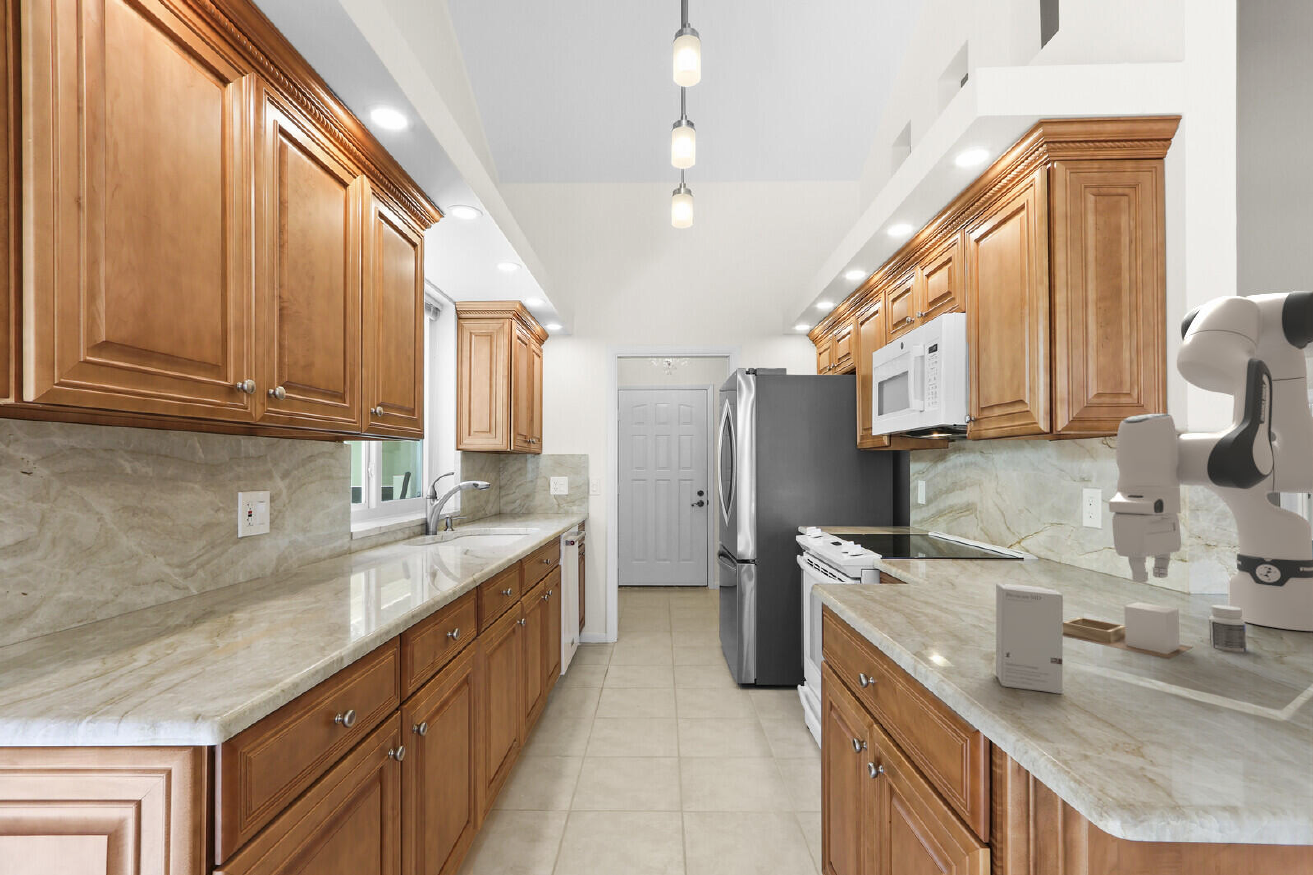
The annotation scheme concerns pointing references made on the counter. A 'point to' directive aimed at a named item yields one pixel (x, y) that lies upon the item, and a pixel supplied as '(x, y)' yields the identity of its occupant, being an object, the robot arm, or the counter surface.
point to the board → (1107, 635)
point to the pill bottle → (1227, 628)
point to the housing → (1152, 627)
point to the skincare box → (1029, 637)
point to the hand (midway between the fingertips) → (1150, 579)
